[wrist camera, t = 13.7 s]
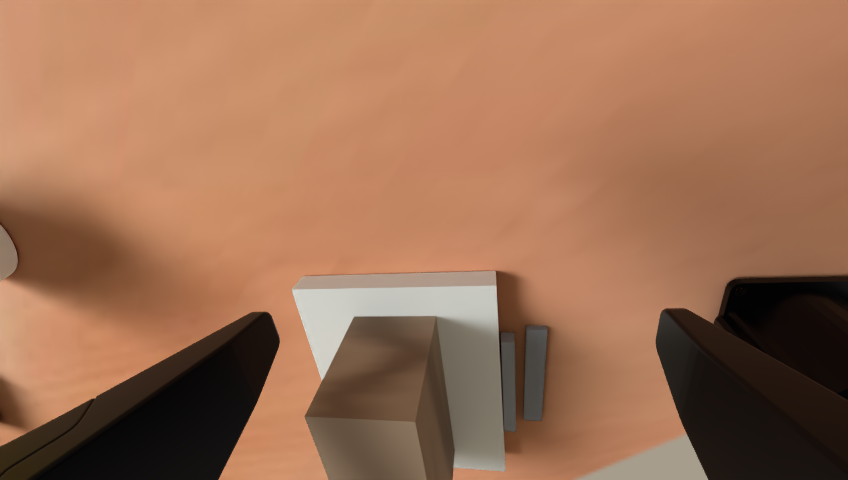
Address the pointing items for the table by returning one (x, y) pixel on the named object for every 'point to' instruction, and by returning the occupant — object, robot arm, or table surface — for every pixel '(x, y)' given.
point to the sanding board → (458, 334)
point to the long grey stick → (508, 380)
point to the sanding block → (385, 403)
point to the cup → (7, 255)
